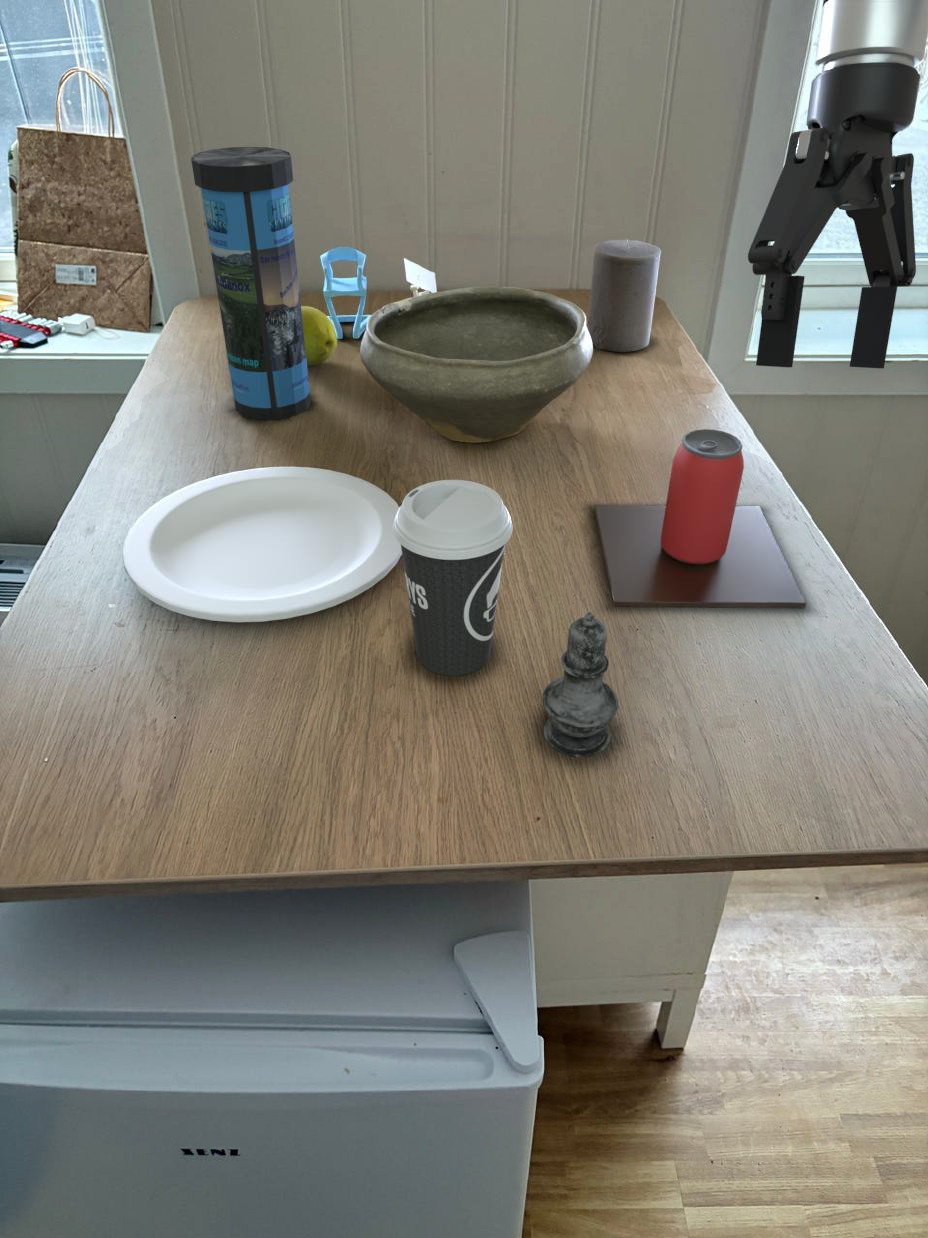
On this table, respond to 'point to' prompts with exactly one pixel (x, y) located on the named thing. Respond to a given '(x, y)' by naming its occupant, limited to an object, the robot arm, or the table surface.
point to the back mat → (662, 581)
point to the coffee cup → (453, 570)
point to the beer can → (702, 496)
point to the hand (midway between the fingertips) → (822, 367)
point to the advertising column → (256, 276)
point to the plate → (263, 544)
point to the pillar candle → (623, 294)
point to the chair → (345, 288)
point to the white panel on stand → (420, 278)
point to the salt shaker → (581, 693)
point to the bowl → (477, 357)
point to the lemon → (317, 335)
